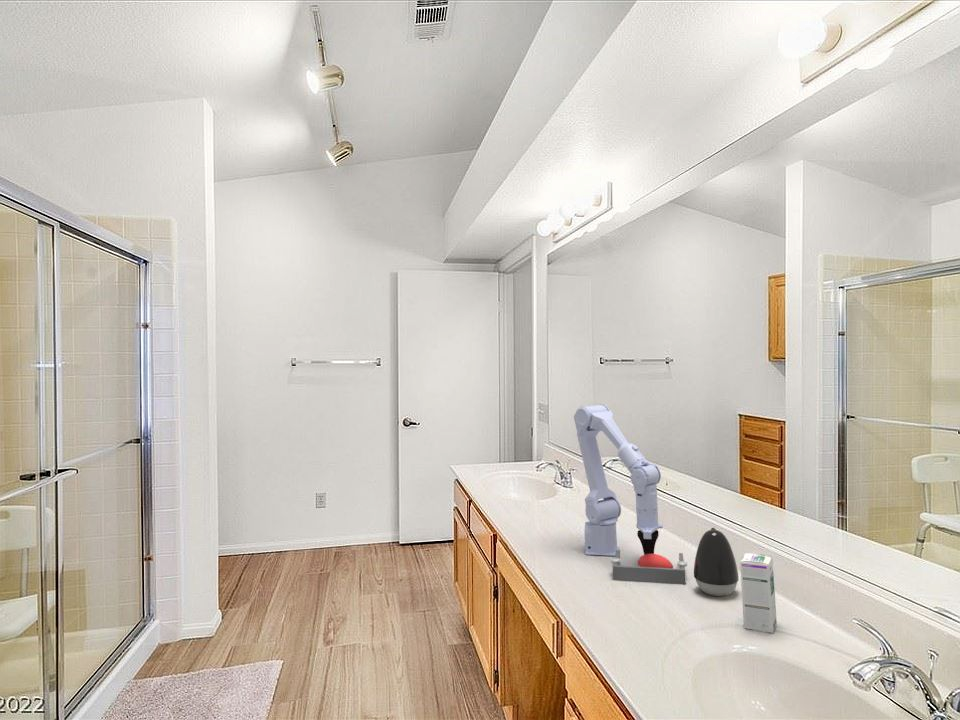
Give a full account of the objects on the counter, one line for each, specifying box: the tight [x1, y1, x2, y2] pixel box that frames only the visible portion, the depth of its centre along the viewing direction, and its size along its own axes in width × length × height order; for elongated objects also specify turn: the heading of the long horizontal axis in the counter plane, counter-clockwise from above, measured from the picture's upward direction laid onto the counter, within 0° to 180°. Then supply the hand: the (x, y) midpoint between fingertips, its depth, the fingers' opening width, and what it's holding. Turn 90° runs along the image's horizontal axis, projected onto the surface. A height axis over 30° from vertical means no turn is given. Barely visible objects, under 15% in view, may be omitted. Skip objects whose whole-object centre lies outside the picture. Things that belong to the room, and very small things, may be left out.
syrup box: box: [739, 552, 778, 634], centre depth 128 cm, size 6×6×14 cm
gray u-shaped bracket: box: [610, 549, 688, 585], centre depth 162 cm, size 19×14×4 cm
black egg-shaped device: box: [693, 527, 739, 597], centre depth 147 cm, size 10×10×15 cm
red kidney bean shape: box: [637, 553, 674, 568], centre depth 162 cm, size 5×9×6 cm, turn 40°
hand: (649, 557), depth 167 cm, fingers closed
